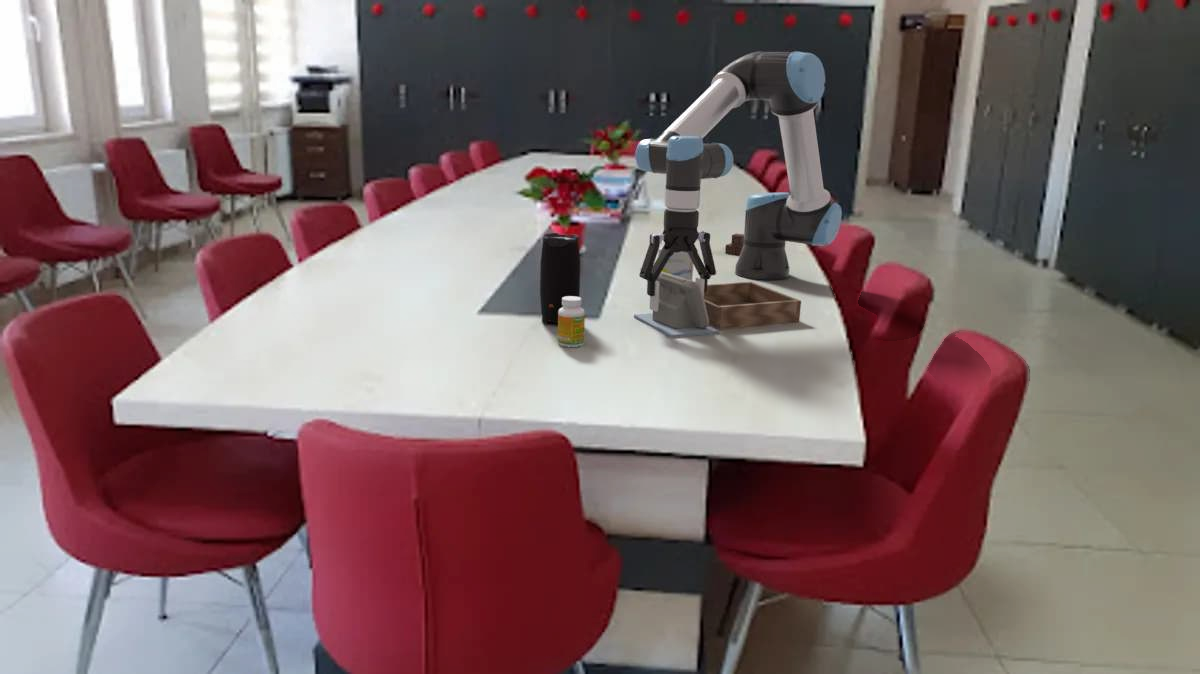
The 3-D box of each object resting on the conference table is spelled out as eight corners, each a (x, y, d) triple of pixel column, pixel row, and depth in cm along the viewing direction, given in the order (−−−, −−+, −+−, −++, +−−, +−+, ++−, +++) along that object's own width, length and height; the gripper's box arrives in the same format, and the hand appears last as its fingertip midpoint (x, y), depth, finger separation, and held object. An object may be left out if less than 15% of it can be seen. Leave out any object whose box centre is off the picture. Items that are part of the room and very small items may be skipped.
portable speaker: (558, 329, 202) (559, 240, 197) (531, 320, 208) (531, 234, 203) (587, 323, 208) (589, 236, 202) (560, 314, 214) (561, 230, 209)
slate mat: (680, 313, 219) (680, 311, 219) (719, 333, 203) (719, 330, 203) (633, 317, 214) (634, 314, 214) (670, 337, 198) (670, 335, 198)
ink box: (688, 297, 235) (691, 251, 232) (655, 295, 237) (657, 249, 233) (692, 290, 243) (695, 245, 240) (660, 288, 245) (662, 243, 242)
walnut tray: (750, 301, 233) (751, 281, 232) (799, 321, 215) (801, 300, 213) (672, 307, 225) (673, 287, 223) (716, 329, 206) (717, 307, 205)
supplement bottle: (574, 349, 188) (575, 302, 185) (552, 344, 191) (553, 298, 188) (588, 343, 192) (590, 297, 190) (567, 339, 195) (568, 293, 192)
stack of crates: (770, 255, 299) (771, 233, 297) (751, 262, 286) (752, 240, 285) (727, 249, 306) (728, 228, 304) (707, 255, 294) (708, 234, 292)
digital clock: (712, 330, 203) (715, 282, 200) (674, 333, 200) (677, 284, 197) (678, 312, 217) (681, 267, 214) (643, 315, 214) (645, 269, 211)
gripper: (719, 205, 209) (712, 300, 215) (626, 208, 200) (622, 307, 206) (736, 210, 203) (729, 308, 209) (641, 213, 194) (637, 316, 200)
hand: (676, 308), depth 208 cm, fingers open, 10 cm apart
